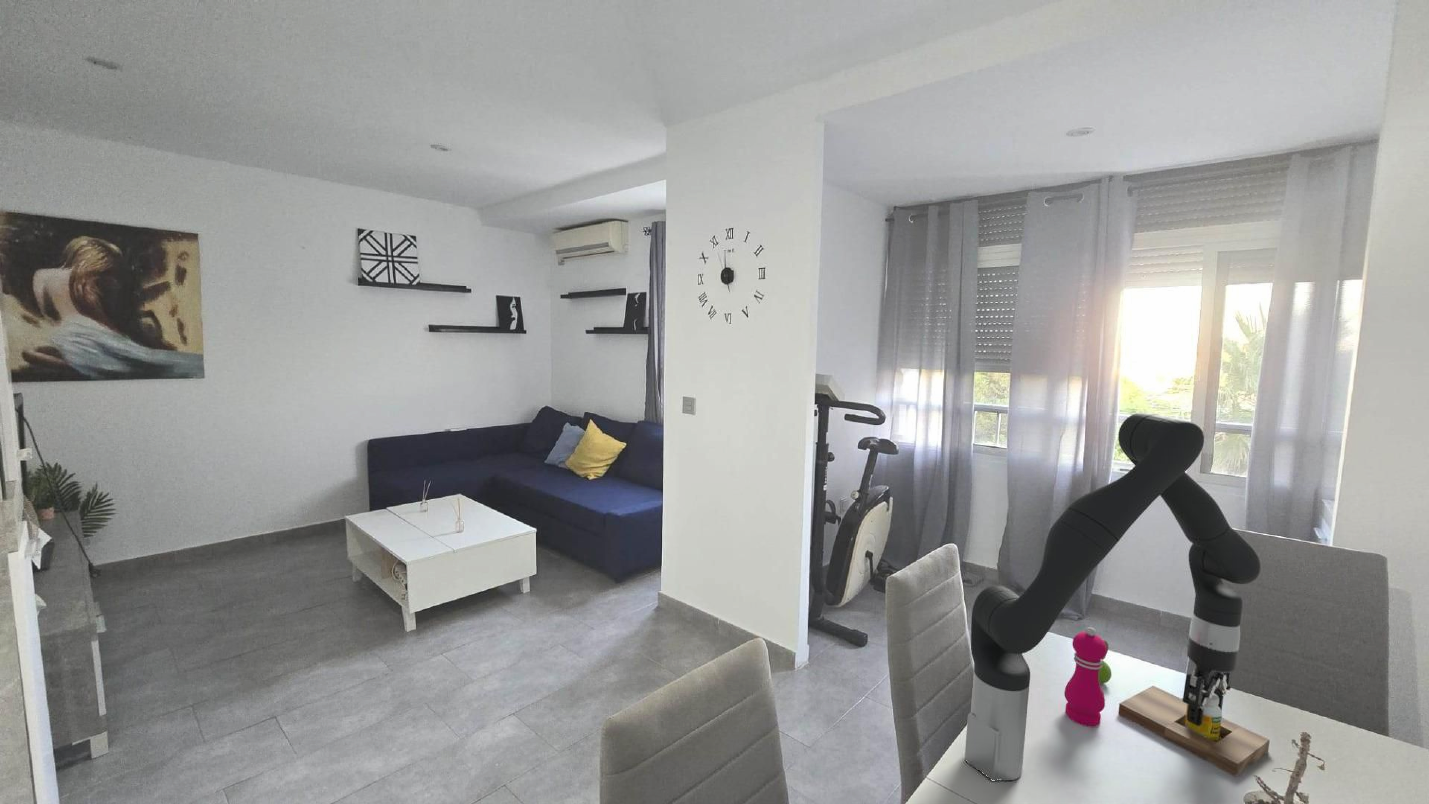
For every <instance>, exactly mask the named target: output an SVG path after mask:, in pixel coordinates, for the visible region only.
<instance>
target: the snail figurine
mask: <svg viewBox="0 0 1429 804" xmlns="http://www.w3.org/2000/svg"><path fill="white" fill-rule="evenodd" d="M1101 639H1102V640H1103V641H1104V642H1105V644H1106V649H1107V652H1106V655H1105V657H1104V658H1102V661H1103V663H1102V668H1101V669H1099V684H1100V685H1102V684H1103V685H1104V684H1106V683H1108V682H1110V680H1111V678H1112V670H1111V667H1110V666H1109V665H1108V663H1107V662H1106V661H1104V660H1105V659H1106V656H1107V653H1108V651H1109V643H1108V641H1107V640H1106V639H1103V638H1101Z"/></svg>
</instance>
